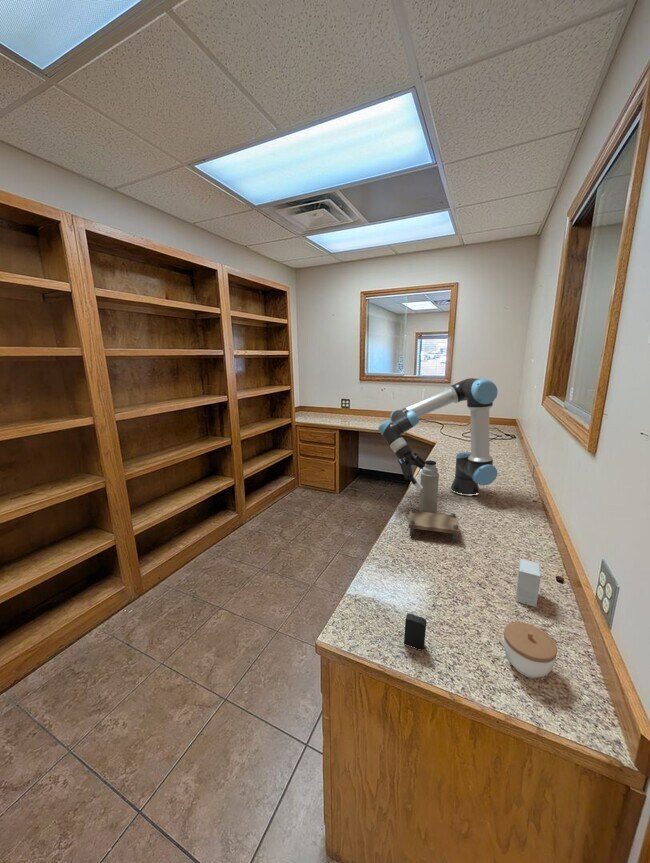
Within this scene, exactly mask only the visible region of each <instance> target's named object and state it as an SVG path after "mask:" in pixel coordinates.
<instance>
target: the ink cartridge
mask: <svg viewBox="0 0 650 863" xmlns="http://www.w3.org/2000/svg"><path fill="white" fill-rule="evenodd" d="M404 622H405V624H404V626H405V627H404V637H403V644H404V645H405V644H406V645H409V646H412V647H415V648H417V649H416V650H418V649H421V650H423V651H424V649H425V648H424V647H425V644H426V642H425V641H426V630H427V619H426V618H424V617H422V616H418V615H415V614H414V613H413V614H412V613H408V612H407V613H406V617H405V621H404ZM406 645H405V646H406ZM409 646H408V647H409ZM412 647H411V648H412ZM415 648H414V649H415ZM421 650H420V651H421Z"/></svg>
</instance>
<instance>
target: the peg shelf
mask: <svg viewBox="0 0 650 863" xmlns="http://www.w3.org/2000/svg"><path fill="white" fill-rule="evenodd" d="M408 528H409V537H410V536H411V537H410V538H414V537H415V530H416V529H417V530H421V531H422V530H423V531H431V532H441V533H446V534H447V533H448V534H452V538H451V539H452V540H451V542H452V543H453V544H457V543H458V535H460V533H461V530H460V525H459V520H458V515H457V514H456V513H453V512H452V513H451V514H445V513H428V512H419V510H416V509H415V508H411V510H409V517H408ZM413 536H414V537H413Z"/></svg>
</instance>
